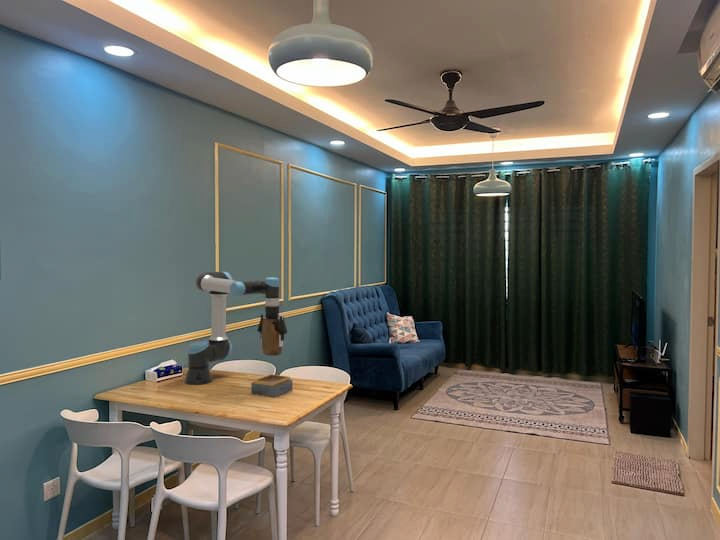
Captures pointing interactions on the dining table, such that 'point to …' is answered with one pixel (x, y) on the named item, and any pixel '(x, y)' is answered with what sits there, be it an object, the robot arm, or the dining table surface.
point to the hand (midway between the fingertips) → (272, 345)
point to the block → (270, 337)
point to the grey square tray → (271, 385)
